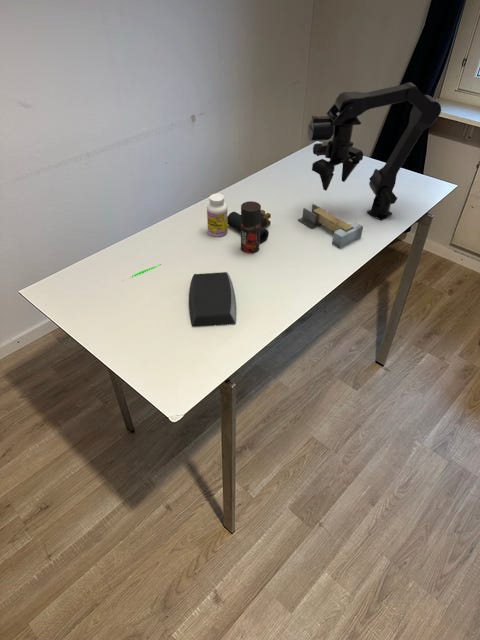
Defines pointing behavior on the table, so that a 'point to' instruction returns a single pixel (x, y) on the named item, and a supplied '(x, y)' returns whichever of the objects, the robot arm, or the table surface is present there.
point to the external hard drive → (212, 300)
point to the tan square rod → (331, 221)
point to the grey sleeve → (310, 218)
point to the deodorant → (250, 227)
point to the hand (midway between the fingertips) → (334, 185)
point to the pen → (145, 270)
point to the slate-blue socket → (347, 235)
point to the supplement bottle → (217, 215)
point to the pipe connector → (235, 223)
